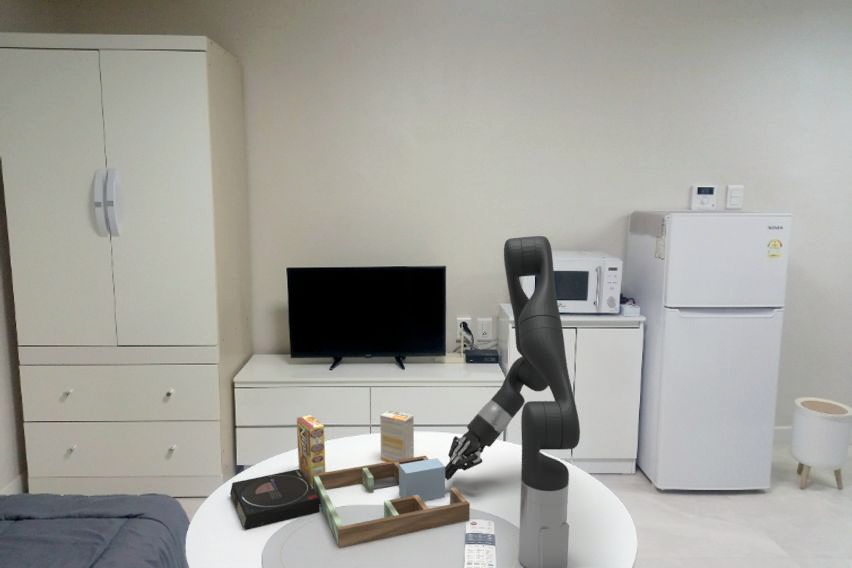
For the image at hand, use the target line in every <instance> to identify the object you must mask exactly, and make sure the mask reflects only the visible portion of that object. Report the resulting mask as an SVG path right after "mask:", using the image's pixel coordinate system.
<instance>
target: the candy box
mask: <svg viewBox="0 0 852 568" xmlns="http://www.w3.org/2000/svg"><path fill="white" fill-rule="evenodd" d="M296 431H297V432H296V433H297V434H296V435H297V457H298V469H300V471H301V472H302V473H303V475H304V476H305V478H306V479H307V481H308V482H309V484H310V485H311V486H312V487H313V474H319V473H325V472H326V453H325V452H326V450H325V425H324V424H323V423H321V422H319V420H317V419H316V418H315V417H314V416H313V415H309V414H308V415H306V416H305V415H304V416H301V417H297V418H296Z"/></svg>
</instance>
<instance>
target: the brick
mask: <svg viewBox="0 0 852 568" xmlns="http://www.w3.org/2000/svg"><path fill="white" fill-rule="evenodd" d="M428 459H429V460H423V461H417V462H411V463H406V464H400V465H399V485H398V496H399V498H402V497H408V496H413V495H419V497H420V498H421V499H422V500H423V502H424V503H425V502H429V501H433V500H437V499H438V500H439V499H444V498H445V497H446V479H445V467H446V465H444V464H443V463H442V462H441V460H440V459H439V458H437V457H435V458H428Z"/></svg>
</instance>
